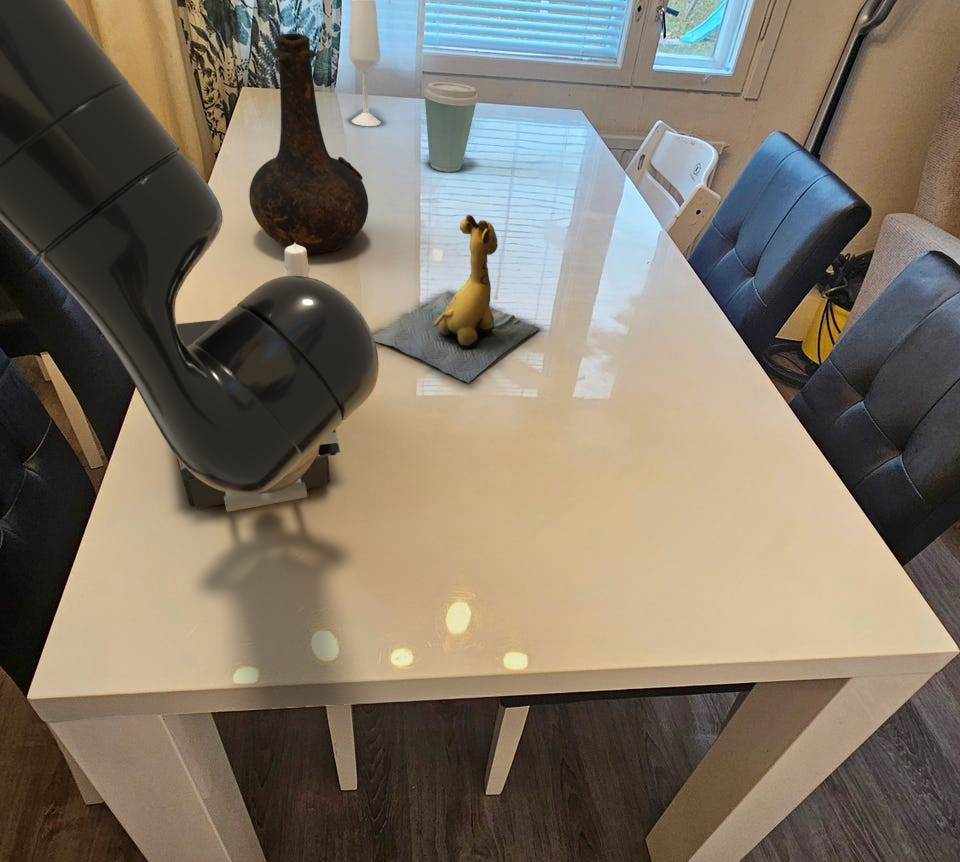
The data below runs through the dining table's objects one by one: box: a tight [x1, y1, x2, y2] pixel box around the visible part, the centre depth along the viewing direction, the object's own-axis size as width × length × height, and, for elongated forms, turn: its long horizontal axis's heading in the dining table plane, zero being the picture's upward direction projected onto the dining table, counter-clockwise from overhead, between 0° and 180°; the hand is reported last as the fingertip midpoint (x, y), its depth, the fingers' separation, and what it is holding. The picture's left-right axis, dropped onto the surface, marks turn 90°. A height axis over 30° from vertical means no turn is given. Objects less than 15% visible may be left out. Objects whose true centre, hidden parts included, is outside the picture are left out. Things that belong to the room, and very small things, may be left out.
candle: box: [284, 243, 310, 278], centre depth 89 cm, size 5×5×12 cm
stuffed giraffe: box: [372, 214, 541, 384], centre depth 91 cm, size 16×18×16 cm
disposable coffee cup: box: [423, 81, 479, 173], centre depth 140 cm, size 11×11×15 cm
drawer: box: [188, 457, 328, 513], centre depth 69 cm, size 20×13×9 cm, turn 21°
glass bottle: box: [248, 32, 369, 254], centre depth 104 cm, size 18×18×28 cm
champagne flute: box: [348, 0, 382, 127], centre depth 154 cm, size 7×7×24 cm
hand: (259, 462), depth 65 cm, fingers closed
